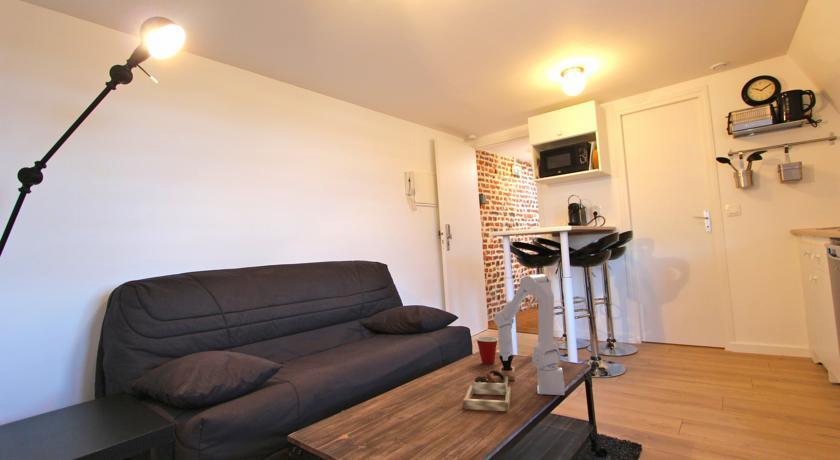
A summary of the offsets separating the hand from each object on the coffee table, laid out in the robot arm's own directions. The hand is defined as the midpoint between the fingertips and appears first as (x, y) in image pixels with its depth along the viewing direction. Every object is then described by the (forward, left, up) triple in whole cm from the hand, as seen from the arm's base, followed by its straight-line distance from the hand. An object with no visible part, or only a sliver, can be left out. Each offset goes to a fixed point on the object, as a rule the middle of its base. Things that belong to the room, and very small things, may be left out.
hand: (507, 372), depth 166 cm
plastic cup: (+10, -20, -2) cm, 22 cm away
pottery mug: (+6, +16, -2) cm, 17 cm away
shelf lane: (+6, +27, -2) cm, 27 cm away
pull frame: (+4, +10, -1) cm, 11 cm away
